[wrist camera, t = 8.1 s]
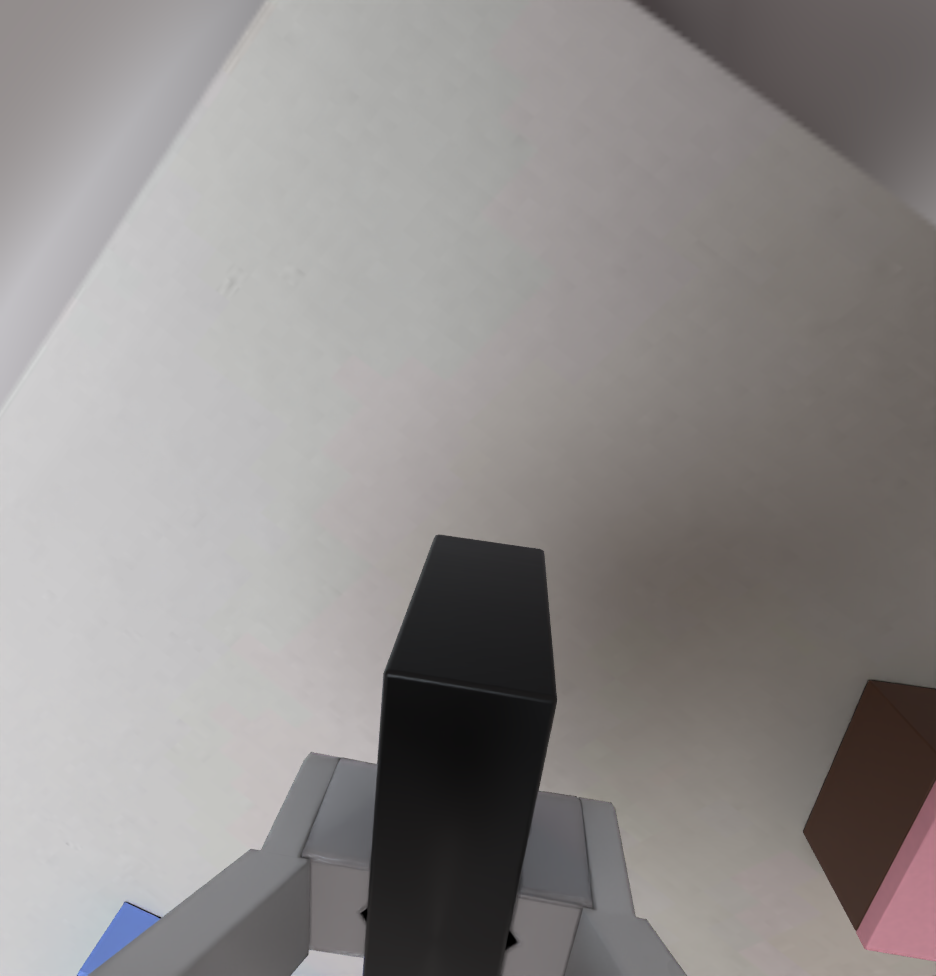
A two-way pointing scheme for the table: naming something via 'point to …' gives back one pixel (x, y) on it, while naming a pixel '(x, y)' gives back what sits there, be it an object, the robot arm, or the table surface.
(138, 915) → the half pipe
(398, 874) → the knife
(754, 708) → the table surface
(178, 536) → the table surface
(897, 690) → the cake slice
